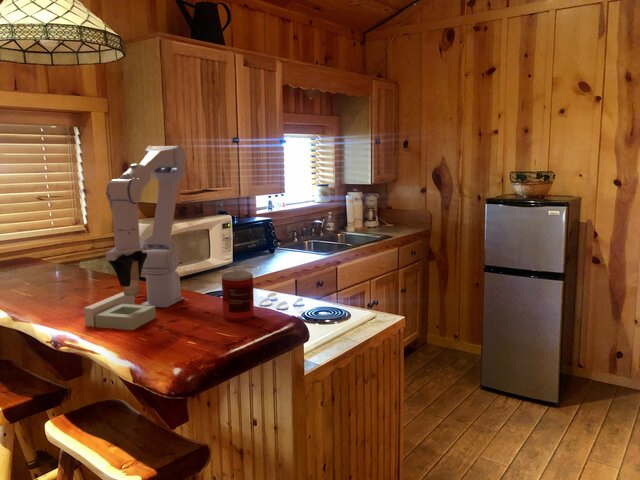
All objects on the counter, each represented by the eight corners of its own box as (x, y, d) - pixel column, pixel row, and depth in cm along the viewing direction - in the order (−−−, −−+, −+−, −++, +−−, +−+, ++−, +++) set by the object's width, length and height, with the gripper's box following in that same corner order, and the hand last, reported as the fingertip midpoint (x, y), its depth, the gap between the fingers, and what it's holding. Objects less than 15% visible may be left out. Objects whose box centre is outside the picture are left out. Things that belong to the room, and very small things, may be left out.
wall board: (127, 306, 147) (126, 290, 146) (135, 307, 146) (133, 291, 145) (85, 326, 130) (83, 308, 130) (93, 326, 130) (92, 308, 129)
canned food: (239, 310, 142) (237, 269, 140) (260, 316, 137) (259, 273, 135) (216, 317, 136) (214, 275, 134) (238, 323, 131) (236, 279, 129)
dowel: (127, 291, 134) (126, 260, 133) (141, 292, 134) (140, 260, 133) (121, 295, 131) (119, 263, 129) (135, 295, 131) (134, 263, 129)
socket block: (121, 315, 139) (120, 303, 139) (155, 317, 136) (155, 306, 136) (95, 327, 129) (95, 315, 129) (132, 330, 127) (131, 317, 126)
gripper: (123, 233, 122) (127, 292, 124) (157, 225, 136) (160, 278, 138) (96, 233, 124) (100, 290, 126) (132, 224, 138) (136, 277, 140)
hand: (130, 284), depth 132 cm, fingers closed on dowel, 4 cm apart
